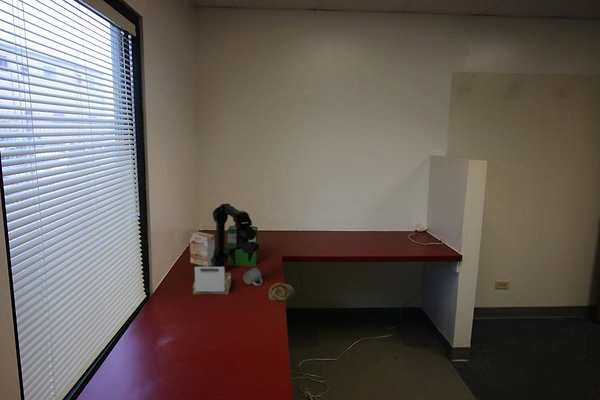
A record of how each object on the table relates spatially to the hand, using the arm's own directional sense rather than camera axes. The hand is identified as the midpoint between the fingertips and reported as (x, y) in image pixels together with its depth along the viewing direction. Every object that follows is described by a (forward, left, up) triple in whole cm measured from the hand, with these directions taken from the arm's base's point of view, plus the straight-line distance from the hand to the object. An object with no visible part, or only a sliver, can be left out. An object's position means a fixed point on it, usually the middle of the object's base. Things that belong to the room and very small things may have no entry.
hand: (241, 263), depth 196 cm
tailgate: (-3, -17, -13) cm, 22 cm away
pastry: (+20, +12, -15) cm, 28 cm away
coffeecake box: (-48, -2, -15) cm, 50 cm away
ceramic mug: (-3, +9, -15) cm, 18 cm away
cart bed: (-9, -13, -15) cm, 22 cm away
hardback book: (-33, +19, -15) cm, 41 cm away
